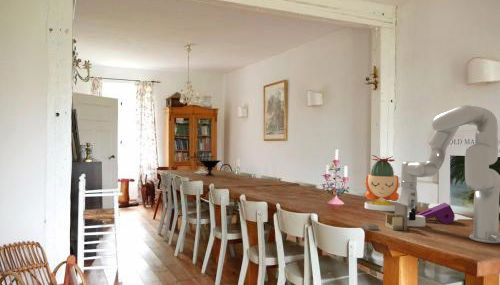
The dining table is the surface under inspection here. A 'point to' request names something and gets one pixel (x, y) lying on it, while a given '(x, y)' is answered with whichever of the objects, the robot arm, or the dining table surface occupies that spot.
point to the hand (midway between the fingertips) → (407, 218)
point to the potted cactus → (382, 186)
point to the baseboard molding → (461, 218)
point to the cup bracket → (397, 217)
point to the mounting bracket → (440, 213)
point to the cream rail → (416, 221)
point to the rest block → (370, 225)
